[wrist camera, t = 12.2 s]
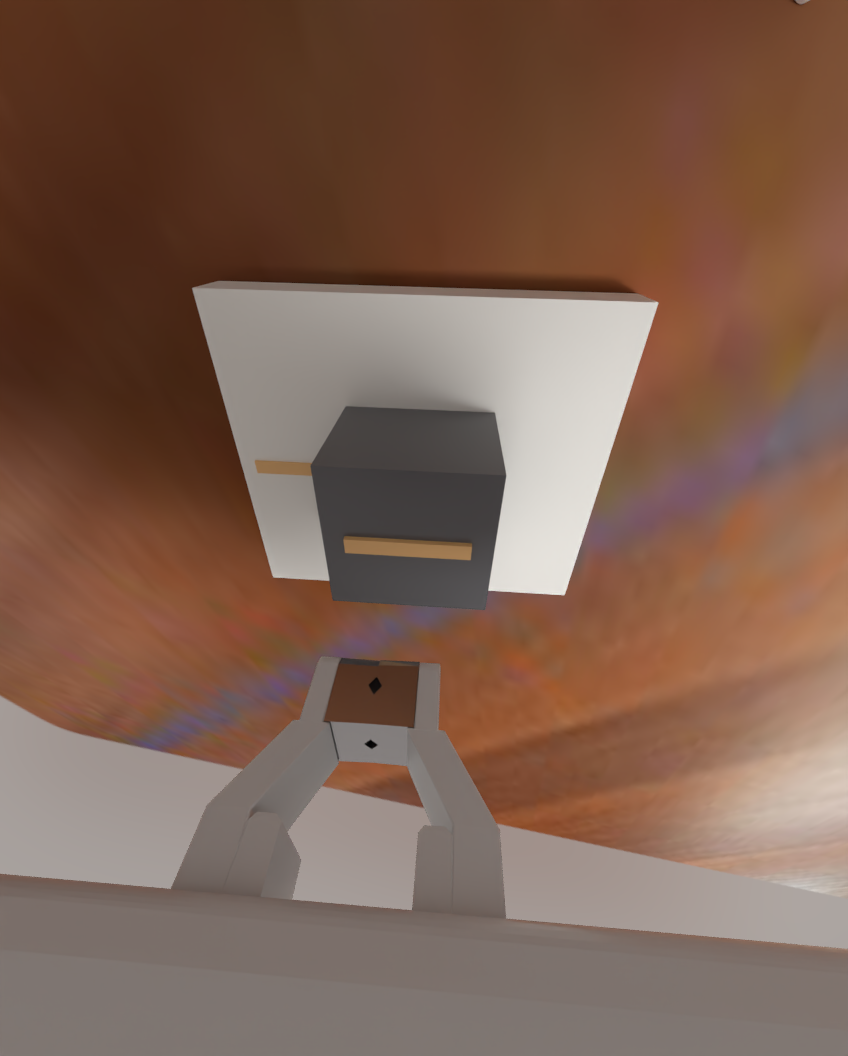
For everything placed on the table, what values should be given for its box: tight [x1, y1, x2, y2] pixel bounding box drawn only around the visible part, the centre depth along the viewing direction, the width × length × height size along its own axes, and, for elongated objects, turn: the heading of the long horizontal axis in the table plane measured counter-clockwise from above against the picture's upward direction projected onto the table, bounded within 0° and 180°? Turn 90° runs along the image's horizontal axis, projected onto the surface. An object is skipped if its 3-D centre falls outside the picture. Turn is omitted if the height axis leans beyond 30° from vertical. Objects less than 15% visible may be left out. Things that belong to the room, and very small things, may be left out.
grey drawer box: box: [310, 406, 506, 610], centre depth 16 cm, size 6×6×5 cm
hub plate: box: [192, 281, 659, 595], centre depth 18 cm, size 16×14×6 cm
